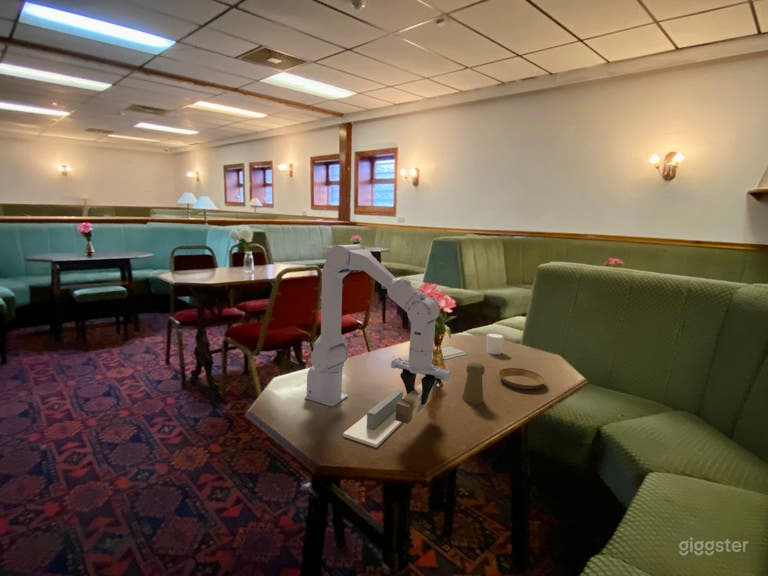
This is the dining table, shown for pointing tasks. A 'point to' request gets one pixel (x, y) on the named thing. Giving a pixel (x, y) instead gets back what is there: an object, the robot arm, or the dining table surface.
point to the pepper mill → (474, 383)
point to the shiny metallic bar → (412, 404)
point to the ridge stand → (377, 422)
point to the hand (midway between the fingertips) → (417, 401)
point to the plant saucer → (520, 372)
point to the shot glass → (494, 343)
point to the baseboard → (444, 353)
